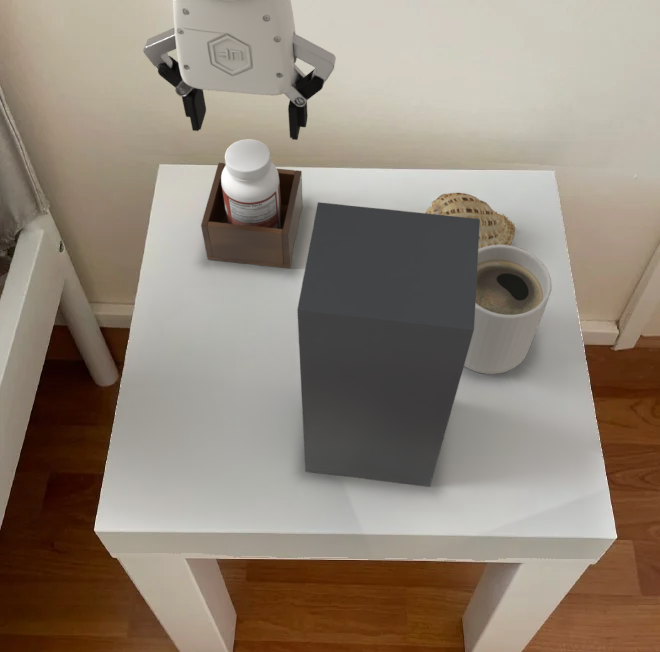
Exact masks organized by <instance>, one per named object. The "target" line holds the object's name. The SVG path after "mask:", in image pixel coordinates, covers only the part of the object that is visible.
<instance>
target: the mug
mask: <svg viewBox="0 0 660 652" xmlns="http://www.w3.org/2000/svg"><path fill="white" fill-rule="evenodd" d="M552 288H553V284H552V278H551V275H550V272H549V270H548V268H547V266H545V264H544V263H543V261H541V259H539V258H538V257H537V256H536V255H534V254H533V253H532V252H530V251H527V250H525V249H523V248H521V247H518V246H514V245H490V246H486V247H483V248H480V249H478V264H477V283H476V302H475V321H474V332H473V335H472V339H471V342H470V346H469V349H468V353H467V357H466V360H465V364H464V368H466V369H468V370H471V371H473V372H476V373H480V374H486V375H497V374H498V375H499V374H502V373H506V372H509V371H511V370H513V369H515V368H516V367H518V366H519V365H520V364H522V362H523V361H524V360H525V358H526V357H527V355H528V353H529V351H530V348H531V345H532V342H533V341H534V337H535V335H536V333H537V331H538V328H539V326H540V323H541V321H542V317H543V315H544V312H545V310H546V307H547V304H548V303H549V300H550V297H551V295H552V294H551V293H552V290H553V289H552Z"/></svg>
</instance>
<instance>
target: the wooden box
mask: <svg viewBox="0 0 660 652" xmlns="http://www.w3.org/2000/svg"><path fill="white" fill-rule="evenodd" d="M225 166H226V164H225V162H218V163H217V167H216V170H215V173H214V178H213V181H212V185H211V187H210V188H211V189H210V191H209V195H208V199H207V202H206V206H205V209H204V213H203V217H202V220H201V224H200V228H201V233H202V238H203V242H204V249H205V253H206V258H207V259H206V260H209V261H217V262H227V263H236V264H243V265H244V264H246V265H255V266H263V267H272V268H280V269H282V268H283V269H291V267H292V262H293V257H294V252H295V248H296V247H295V246H296V242H297V238H298V232H299V227H300V222H301V219H302V212H303V206H304V200H303V199H304V198H303V176H302V175H303V173H302V170H295V169H286V168H277V171H278V175H279V183H280V198H281V211H282V229H276V228H266V227H257V226H247V225H238V224H228V223H227V216H226V210H225V203H224V197H223V191H222V184H221V175H222V171H223V169H224V167H225Z"/></svg>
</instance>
